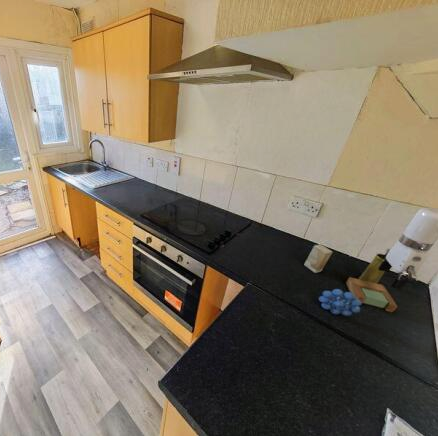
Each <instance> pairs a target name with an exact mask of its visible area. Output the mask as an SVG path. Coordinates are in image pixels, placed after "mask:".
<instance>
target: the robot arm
mask: <svg viewBox="0 0 438 436" xmlns="http://www.w3.org/2000/svg"><path fill="white" fill-rule="evenodd" d="M437 240H438V208H436V207H435V208H434V207H422V208H419V209H418V211H417V212H416V213H415V215H414V216H413V218H412V219H411V221H409V223H408V225H407V226H406V228H405V230H403V232H402V234H401V235H400V237H399V238H398V239H397V241H396V242H395V243H394V244H393V246H392V247H391V248H386V251H385V254H384V255H385V258H384V259H383V261H384V262H382V263H381V265H380V266H379V268H378V270H381V271H385V272H386V273H389V272H390V270H391V269H392V268H393V269H394V271H395V272H397V275H396V277H394V279H393V280H392V282H391V283H390V285H389V286H390V287H391V288H394V289H398V290H402V289H403V288H404V287H405V285H406V284H407V283H411V282H413V281H414V280H416V279H417V278H418V276H417V273H419V271H420V270H421V268H422V266H423V265H424V263H425V262H426V259H427V258H428V255H429V253H428V252H429V251H430V249H431V248H432V247H433V246H434V245H435V243H436V242H437ZM385 272H384V273H385ZM403 275H404V276H403Z"/></svg>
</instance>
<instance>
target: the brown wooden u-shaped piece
mask: <svg viewBox="0 0 438 436" xmlns="http://www.w3.org/2000/svg"><path fill="white" fill-rule="evenodd" d="M345 284H346V286H347V289H348V290H349V292H351V293H353V294H354V296H355V297H354V298H356V299H359V300H360V301H361V303H362V304H364V303H363V302H364V300H365V299H366V297H365V296H364V294H363V292H362V290H361V288H364V289H368V290H372V291H376V292H380V293H383V295H384V296H385V298H386V299H387V301H388V303H387V305H386V306H385V307H384V308H383V309H384V310H385V311H386V312H389V313H394V312H395V310H397V308H398V305H397V304H396V302H395V301H394V299H393V297H392V296H391V295H390V293H389V292H388V290H387V289H386V287H385V285H384V284H380V283H377V284H376V283H372V282H368V281H364V280H360V279H359V278H355V277H351V276H349V277H348V278H347V280H346V282H345Z"/></svg>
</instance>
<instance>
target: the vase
mask: <svg viewBox="0 0 438 436" xmlns="http://www.w3.org/2000/svg"><path fill="white" fill-rule="evenodd" d="M384 258H385V254H384V253H376V254H375V256H374V257H373V259H372V261H370V263H369V264H368V265H367V267H366V268H365V270H364V271H363V272H362V274H361V275H360V276H359V277H358V279H360V280H364V281H368V282H372V283H376V284H379V282H380V280H381V279H382V277H383V276H384V274H385V271H381V270H378V268H379V266H380V265H381V263H382V262H384V261H383V259H384Z"/></svg>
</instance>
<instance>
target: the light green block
mask: <svg viewBox="0 0 438 436" xmlns="http://www.w3.org/2000/svg"><path fill="white" fill-rule="evenodd" d="M361 290H362V292H363V294H364V296H365V297H366V299H365V300H364V302H363V303H362V304H365V305H369V306H374V307H377V308H381V309H385V308H384V307H385V306H386V305H387V303H388V301H387V299H386V298H385V296H384V295H383V293H380V292H376V291H372V290H368V289H364V288H361Z"/></svg>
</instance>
